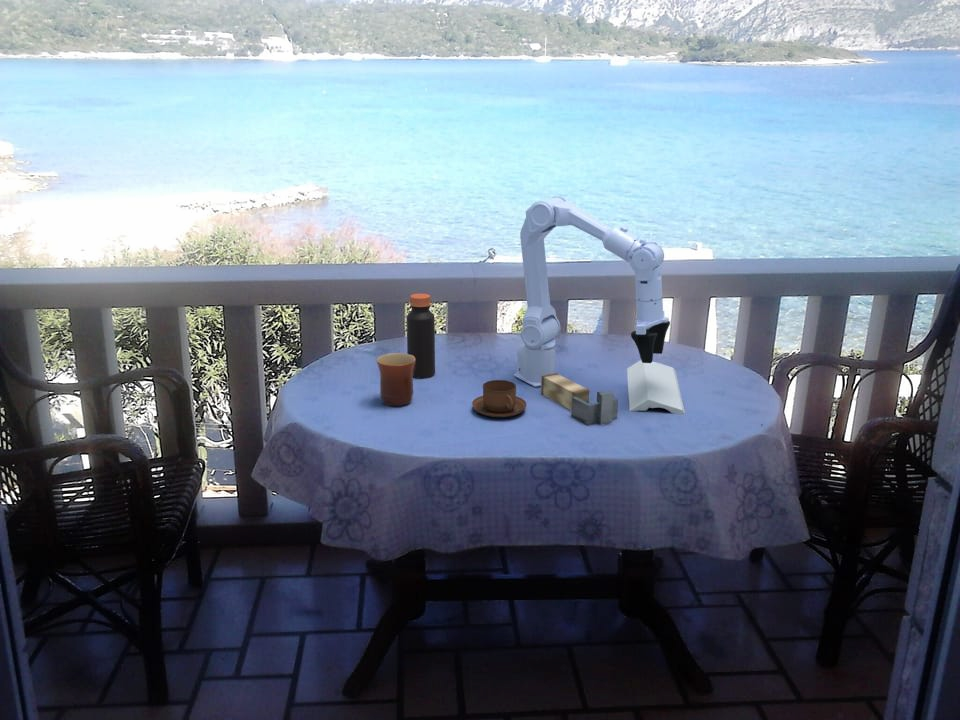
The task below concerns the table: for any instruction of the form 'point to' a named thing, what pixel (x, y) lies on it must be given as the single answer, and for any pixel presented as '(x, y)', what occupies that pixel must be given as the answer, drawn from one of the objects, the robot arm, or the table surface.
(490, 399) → the cup and saucer
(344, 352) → the table surface
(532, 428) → the table surface
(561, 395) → the tan rectangular block
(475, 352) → the table surface
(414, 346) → the bottle
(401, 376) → the mug
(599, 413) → the bracket
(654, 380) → the crown molding
